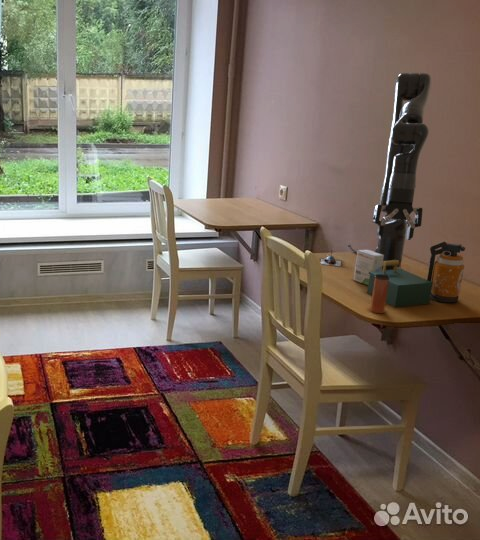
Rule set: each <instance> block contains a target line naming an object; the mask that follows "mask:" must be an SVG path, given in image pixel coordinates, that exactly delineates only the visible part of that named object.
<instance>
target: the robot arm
mask: <svg viewBox="0 0 480 540" xmlns="http://www.w3.org/2000/svg"><path fill="white" fill-rule="evenodd" d="M431 88H432V77H431V75H430V74H429V73H427V72H400V73H399V74H398V75H397V77H396V80H395V86H394V94H393V95H394V96H393V108H392V109H393V111H392V121H391V126H390V132H389V138H388V144H387V151H386V152H387V153H386V160H385V161H386V162H385V163H386V164H385V170H384V176H383V183H382V187H381V191H380V196H379V197H380V198H379V203H378V204H376V205H375V206H374V211H373V216H372V223H373V224H376V225H377V232H376V235H377V236H378V241H377V246H376V247H375V249H374V252H376V253H379V254H382V255H384V257H383V261H392V260H398V261H399V265H397V269H402V260H403V254H404V248H405V241H406V240H407V241H411V239H413V237H414V232H415V229H416V228H418V227H421V226H422V222H423V207H418V206H417V207H414V206H413V203H414V198H415V197H414V196H415V191H416V186H417V185H416V184H417V171H418V165H419V159H420V156H421V153H422V150H423V148H424V146H425V145H426V142H427V140H428V138H429V133H430V130H429V127H428V125H427V124H426V123H424V115H425V114H424V113H425V109H426V106H427V103H428V100H429V97H430V93H431ZM406 101H407V102H406ZM404 102H406V103H404ZM381 213H385V214H384V215H383V216H382V218H381ZM412 213H413V214H414V221H413V219H412V217H411V215H412ZM380 218H381V219H380ZM347 247H348V248H349V249H350V250H351V251H352V252H353V253H355V254H357V250H355V249H353V248H352V244H348V245H347ZM382 270H383V264H382ZM386 270H394V266H386Z"/></svg>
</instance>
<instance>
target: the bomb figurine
mask: <svg viewBox="0 0 480 540" xmlns="http://www.w3.org/2000/svg"><path fill="white" fill-rule="evenodd" d="M332 254H333V249H330V255H329V254H327V255H326V257H324V258H320V263H321V264H320V265H326V266H336V267H341V266H342V260H336V258H335V257H334V256H332Z"/></svg>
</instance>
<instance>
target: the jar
mask: <svg viewBox="0 0 480 540" xmlns="http://www.w3.org/2000/svg"><path fill="white" fill-rule="evenodd" d="M389 279H390V277H389V276H387V275H383V274H376V275H375V281H374V288H373V295H371V296H372V297H371V303H370V309H369V310H370V311H371V312H372V313H375V314H384V313H385V310H386V309H385V308H386V304H387V303H386V297H387V290H388V283H389Z"/></svg>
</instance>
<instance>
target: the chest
mask: <svg viewBox="0 0 480 540" xmlns="http://www.w3.org/2000/svg"><path fill="white" fill-rule="evenodd" d="M374 281H375V276H372V275H370V277H369V284H368V285H367V292H366V293H368V294H369V295H371V296H372V295H373V288H374ZM431 290H432V285H421V286H410V287H399V288H398V287H396V286H394V285H392V284H389V283H388V290H387V297H386V303H385V304H388V305H390V306H392V307H394V308H399V307H408V306H418V305H430V300H431V297H430V296H431Z"/></svg>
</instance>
